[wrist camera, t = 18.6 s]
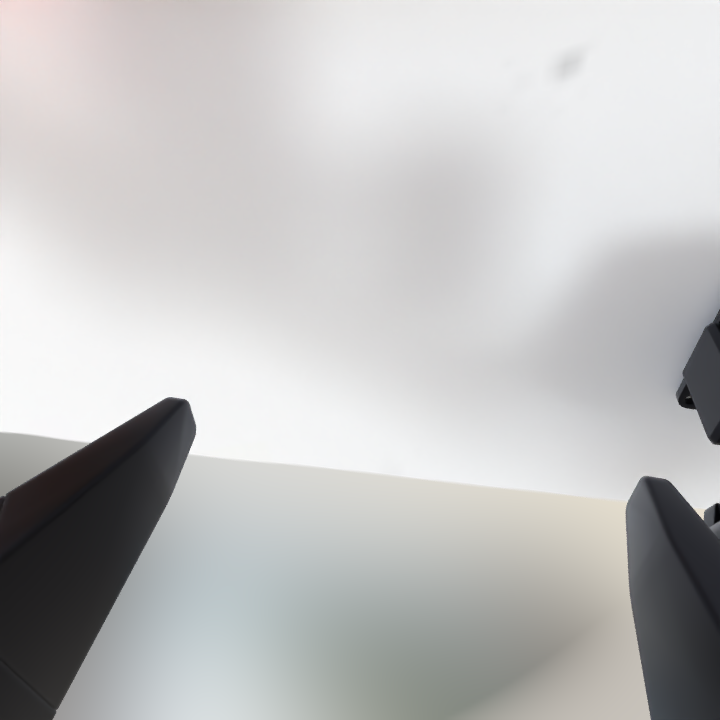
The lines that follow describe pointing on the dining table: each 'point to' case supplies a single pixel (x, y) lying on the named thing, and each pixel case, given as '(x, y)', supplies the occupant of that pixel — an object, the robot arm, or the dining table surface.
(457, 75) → the dining table surface
